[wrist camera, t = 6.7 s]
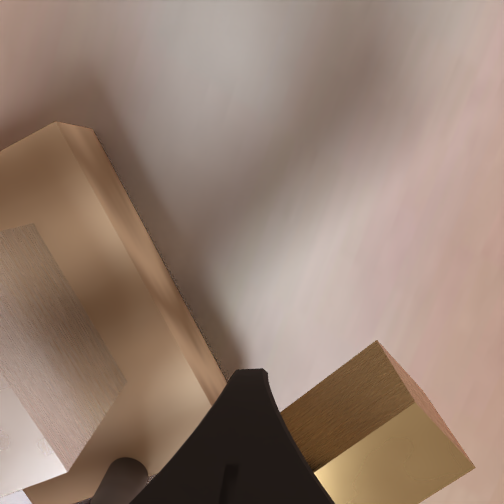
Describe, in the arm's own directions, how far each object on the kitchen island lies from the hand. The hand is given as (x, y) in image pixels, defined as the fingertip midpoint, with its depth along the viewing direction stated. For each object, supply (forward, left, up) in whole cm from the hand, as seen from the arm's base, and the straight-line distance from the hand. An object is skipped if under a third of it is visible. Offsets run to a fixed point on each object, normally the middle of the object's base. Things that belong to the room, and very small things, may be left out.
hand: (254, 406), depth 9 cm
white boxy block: (+3, +10, -7) cm, 12 cm away
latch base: (+2, +10, -10) cm, 14 cm away
